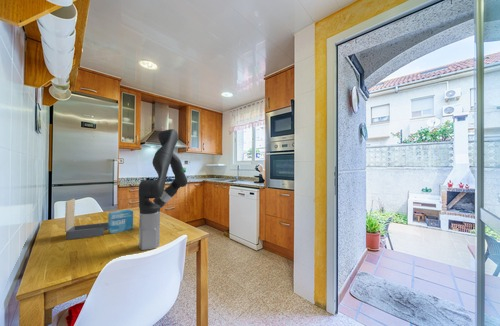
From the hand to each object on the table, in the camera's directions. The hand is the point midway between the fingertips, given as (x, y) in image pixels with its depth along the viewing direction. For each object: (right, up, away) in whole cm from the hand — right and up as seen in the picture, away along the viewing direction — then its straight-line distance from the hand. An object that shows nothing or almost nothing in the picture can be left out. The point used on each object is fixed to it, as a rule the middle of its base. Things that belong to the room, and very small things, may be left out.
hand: (141, 219), depth 119 cm
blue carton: (-10, -6, -5) cm, 12 cm away
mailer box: (-24, -5, -12) cm, 27 cm away
